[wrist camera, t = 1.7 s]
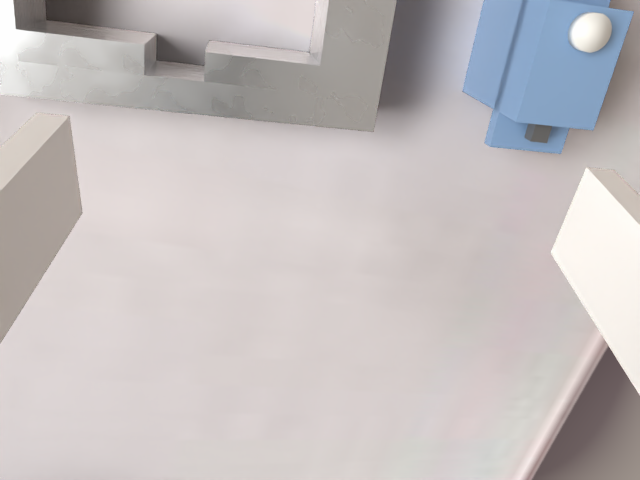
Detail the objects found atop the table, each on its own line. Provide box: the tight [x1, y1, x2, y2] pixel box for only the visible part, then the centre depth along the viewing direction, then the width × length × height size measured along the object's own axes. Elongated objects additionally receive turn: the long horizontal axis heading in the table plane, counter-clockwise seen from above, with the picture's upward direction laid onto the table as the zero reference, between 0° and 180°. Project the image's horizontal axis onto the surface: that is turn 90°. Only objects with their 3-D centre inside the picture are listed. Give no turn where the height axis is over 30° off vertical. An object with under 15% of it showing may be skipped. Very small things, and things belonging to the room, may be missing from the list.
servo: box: [463, 0, 634, 154], centre depth 32 cm, size 10×4×9 cm, turn 172°
